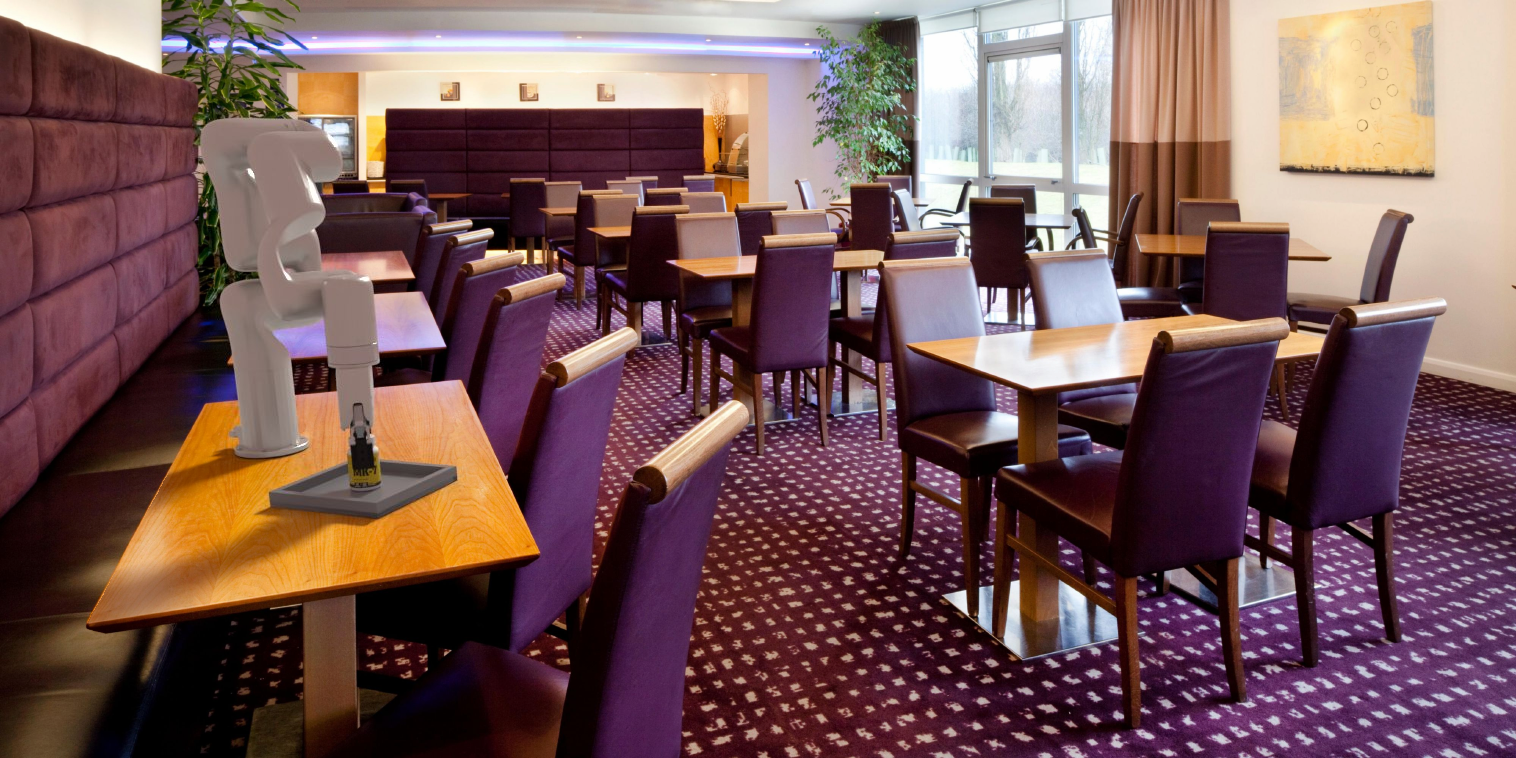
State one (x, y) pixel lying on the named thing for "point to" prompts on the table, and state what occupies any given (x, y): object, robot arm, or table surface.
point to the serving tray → (336, 497)
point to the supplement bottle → (364, 471)
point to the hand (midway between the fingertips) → (363, 460)
